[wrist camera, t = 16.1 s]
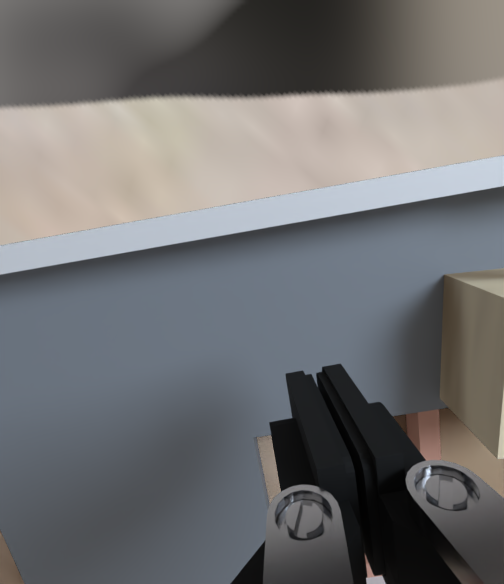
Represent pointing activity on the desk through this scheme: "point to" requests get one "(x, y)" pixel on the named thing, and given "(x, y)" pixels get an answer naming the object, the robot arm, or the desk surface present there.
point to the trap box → (214, 362)
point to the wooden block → (475, 353)
